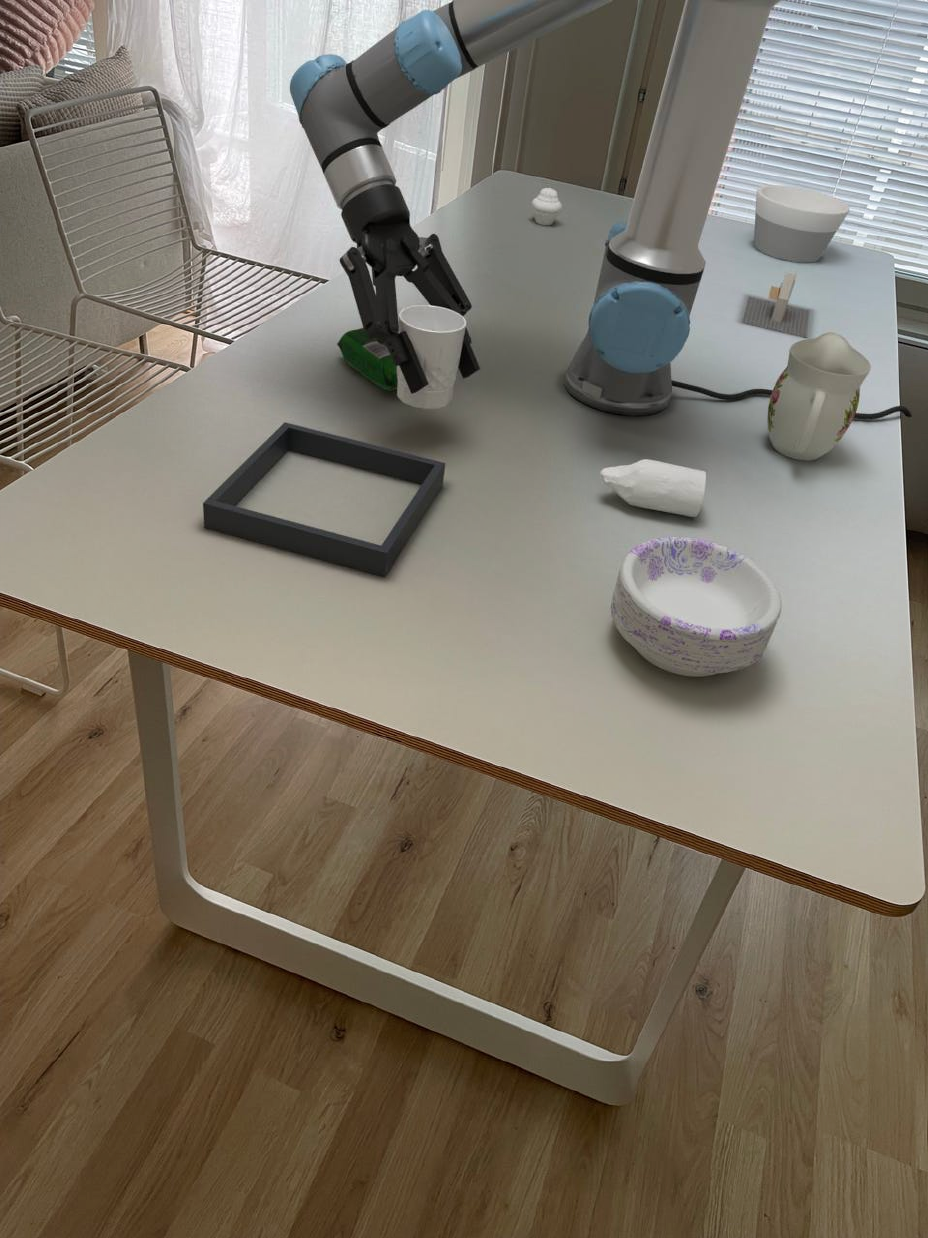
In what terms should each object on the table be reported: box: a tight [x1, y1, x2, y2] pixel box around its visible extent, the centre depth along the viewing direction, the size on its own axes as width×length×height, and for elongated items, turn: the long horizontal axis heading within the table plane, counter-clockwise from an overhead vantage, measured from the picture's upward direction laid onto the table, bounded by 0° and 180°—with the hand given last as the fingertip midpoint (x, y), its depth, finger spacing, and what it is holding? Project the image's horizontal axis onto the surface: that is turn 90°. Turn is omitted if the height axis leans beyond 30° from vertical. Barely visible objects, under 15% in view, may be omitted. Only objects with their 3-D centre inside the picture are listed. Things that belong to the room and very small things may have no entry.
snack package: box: [336, 327, 398, 392], centre depth 132 cm, size 7×16×5 cm, turn 36°
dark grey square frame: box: [202, 421, 446, 578], centre depth 106 cm, size 20×20×3 cm
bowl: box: [753, 184, 851, 264], centre depth 203 cm, size 19×19×11 cm
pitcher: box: [767, 332, 872, 461], centre depth 127 cm, size 11×18×14 cm, turn 160°
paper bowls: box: [610, 536, 783, 678], centre depth 92 cm, size 15×15×8 cm
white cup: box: [396, 304, 467, 410], centre depth 115 cm, size 8×8×10 cm
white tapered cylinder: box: [599, 458, 707, 518], centre depth 114 cm, size 6×12×6 cm, turn 82°
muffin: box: [531, 187, 562, 226], centre depth 199 cm, size 6×6×7 cm
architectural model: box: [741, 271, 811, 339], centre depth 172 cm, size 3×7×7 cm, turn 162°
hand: (446, 380), depth 114 cm, fingers closed on white cup, 8 cm apart
